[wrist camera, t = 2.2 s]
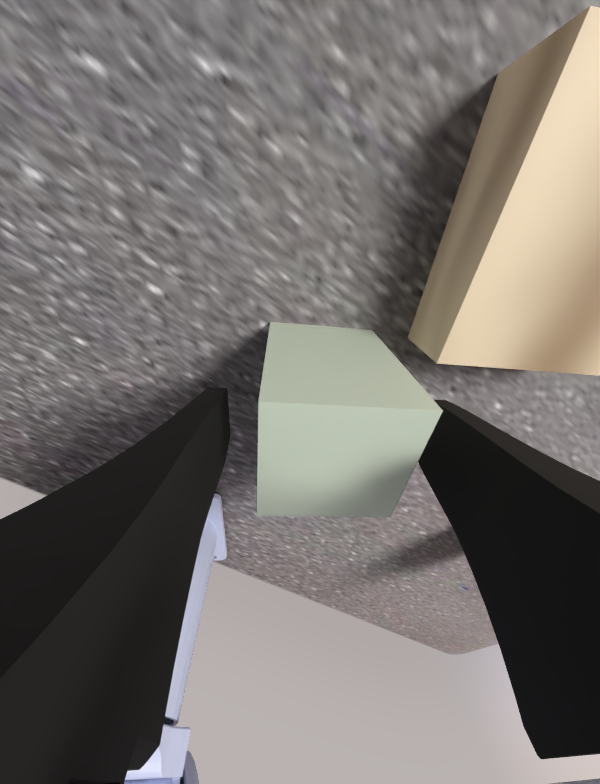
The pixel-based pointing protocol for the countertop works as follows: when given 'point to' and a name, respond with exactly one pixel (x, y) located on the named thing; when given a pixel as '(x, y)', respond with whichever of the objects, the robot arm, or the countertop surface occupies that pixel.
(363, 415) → the sage block
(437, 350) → the beech block
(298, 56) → the countertop surface
